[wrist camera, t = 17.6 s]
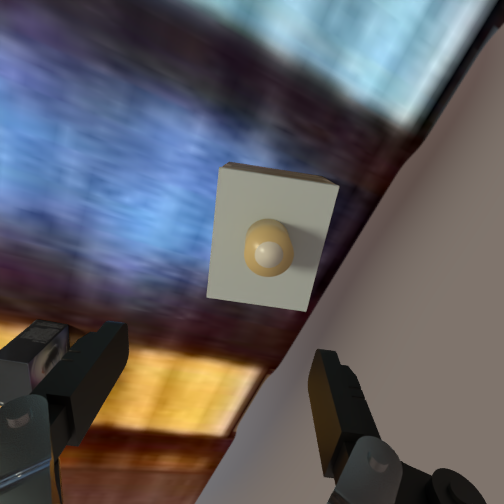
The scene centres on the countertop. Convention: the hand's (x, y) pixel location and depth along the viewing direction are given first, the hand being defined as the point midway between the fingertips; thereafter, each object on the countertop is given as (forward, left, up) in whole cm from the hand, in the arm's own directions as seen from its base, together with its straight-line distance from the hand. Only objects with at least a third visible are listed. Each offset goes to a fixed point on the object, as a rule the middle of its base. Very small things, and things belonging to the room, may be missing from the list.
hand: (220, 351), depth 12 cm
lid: (+4, +3, -26) cm, 26 cm away
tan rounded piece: (+3, +3, -25) cm, 25 cm away
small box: (+34, -34, -34) cm, 59 cm away
